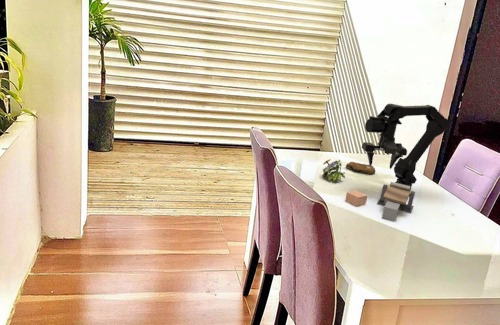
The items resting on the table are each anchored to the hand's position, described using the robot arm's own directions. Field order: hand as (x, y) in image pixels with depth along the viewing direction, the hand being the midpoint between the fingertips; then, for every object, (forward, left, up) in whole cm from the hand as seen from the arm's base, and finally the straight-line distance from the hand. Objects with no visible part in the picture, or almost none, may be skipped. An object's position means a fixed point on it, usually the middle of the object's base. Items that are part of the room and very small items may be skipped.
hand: (380, 167), depth 207 cm
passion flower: (+16, -14, -12) cm, 25 cm away
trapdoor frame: (-4, +15, -12) cm, 20 cm away
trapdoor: (-2, +18, -6) cm, 19 cm away
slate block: (+1, +23, -10) cm, 25 cm away
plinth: (+14, +15, -12) cm, 24 cm away
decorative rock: (-3, -32, -12) cm, 34 cm away
